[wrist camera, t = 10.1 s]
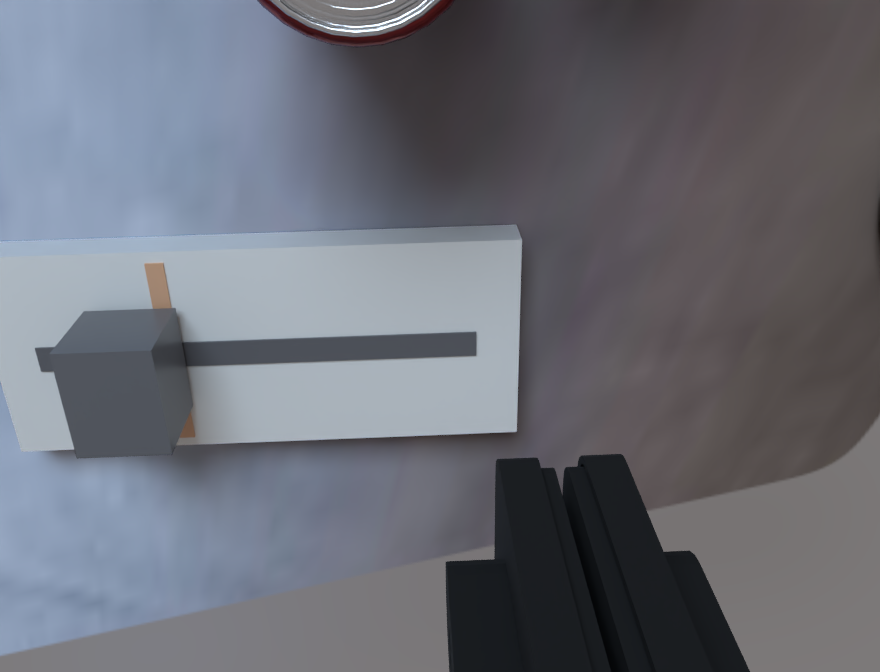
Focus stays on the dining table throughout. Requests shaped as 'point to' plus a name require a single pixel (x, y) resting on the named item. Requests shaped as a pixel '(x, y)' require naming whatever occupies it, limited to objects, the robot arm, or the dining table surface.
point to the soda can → (357, 19)
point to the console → (285, 328)
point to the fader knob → (123, 382)
